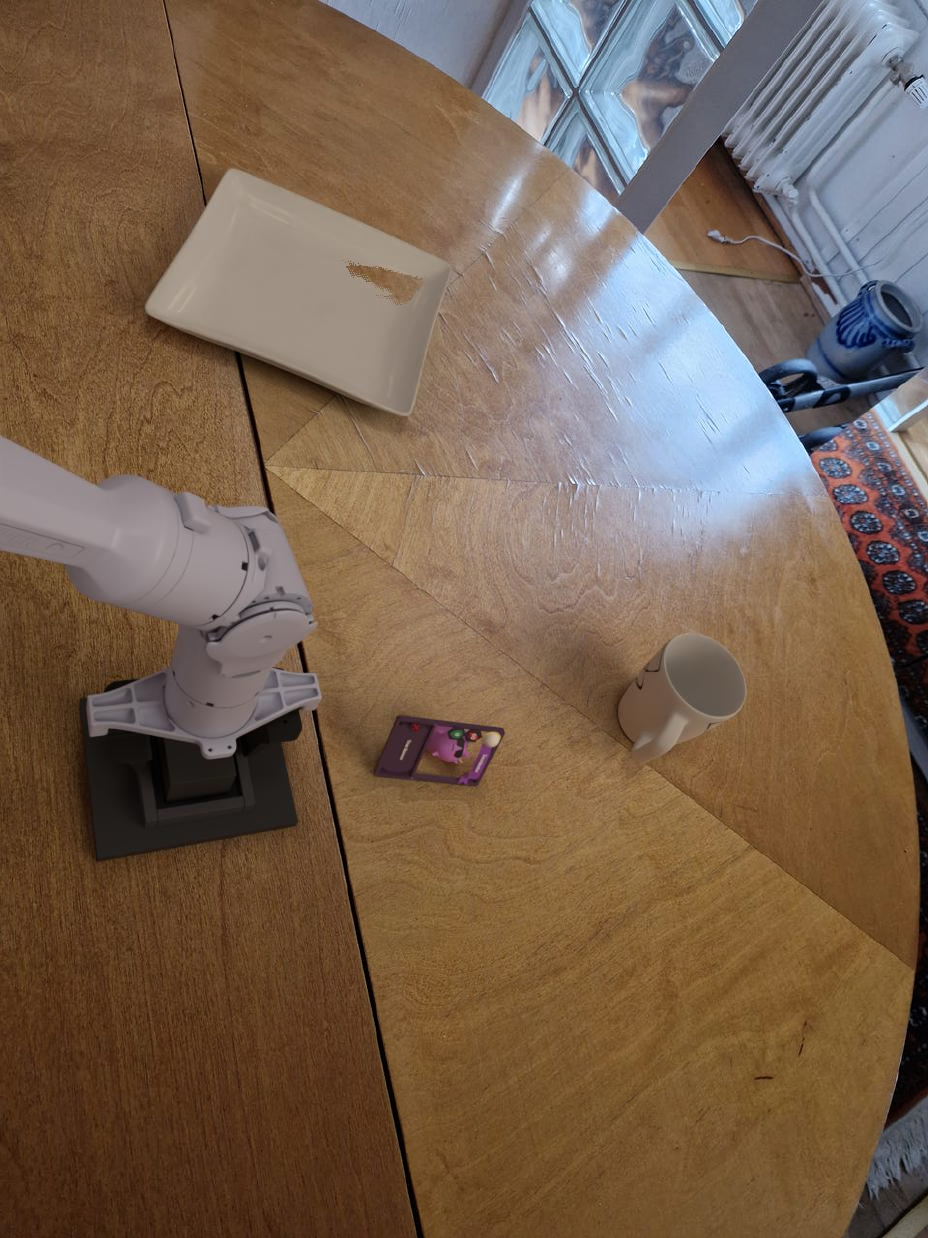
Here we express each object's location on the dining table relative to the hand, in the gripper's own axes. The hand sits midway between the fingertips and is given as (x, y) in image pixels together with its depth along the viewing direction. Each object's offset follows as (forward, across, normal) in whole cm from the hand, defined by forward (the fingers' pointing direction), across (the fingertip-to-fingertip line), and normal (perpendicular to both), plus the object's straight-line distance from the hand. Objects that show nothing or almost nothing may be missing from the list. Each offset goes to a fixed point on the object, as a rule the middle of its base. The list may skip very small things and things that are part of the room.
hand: (192, 751), depth 64 cm
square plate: (+3, +20, +50) cm, 54 cm away
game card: (+3, +19, -2) cm, 19 cm away
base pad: (+3, 0, 0) cm, 3 cm away
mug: (+3, +41, -3) cm, 41 cm away
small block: (+2, 0, 0) cm, 2 cm away
